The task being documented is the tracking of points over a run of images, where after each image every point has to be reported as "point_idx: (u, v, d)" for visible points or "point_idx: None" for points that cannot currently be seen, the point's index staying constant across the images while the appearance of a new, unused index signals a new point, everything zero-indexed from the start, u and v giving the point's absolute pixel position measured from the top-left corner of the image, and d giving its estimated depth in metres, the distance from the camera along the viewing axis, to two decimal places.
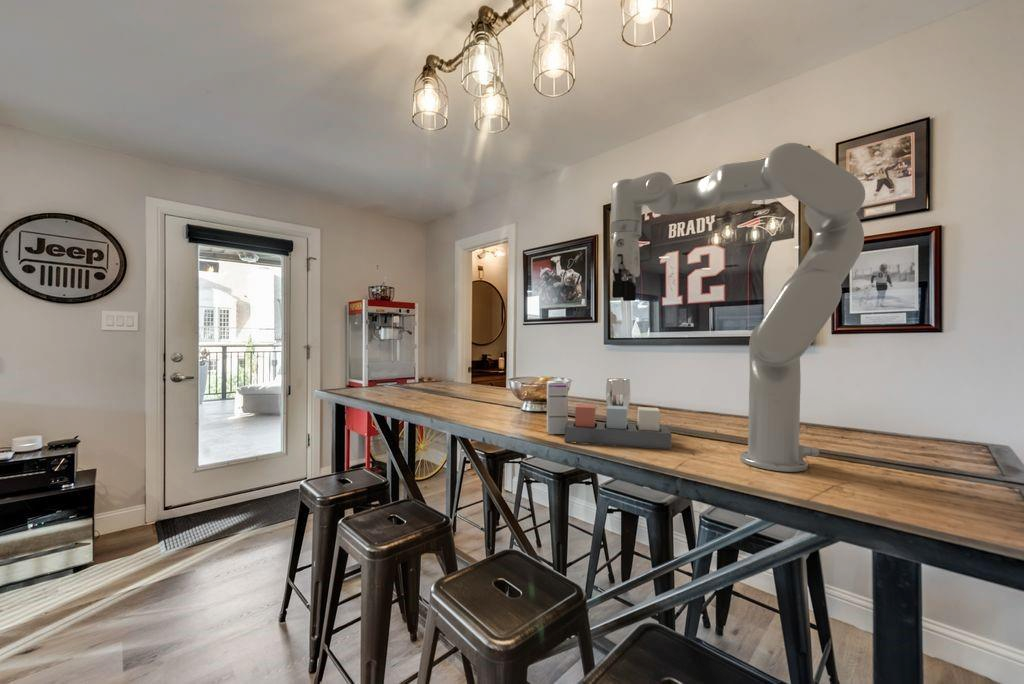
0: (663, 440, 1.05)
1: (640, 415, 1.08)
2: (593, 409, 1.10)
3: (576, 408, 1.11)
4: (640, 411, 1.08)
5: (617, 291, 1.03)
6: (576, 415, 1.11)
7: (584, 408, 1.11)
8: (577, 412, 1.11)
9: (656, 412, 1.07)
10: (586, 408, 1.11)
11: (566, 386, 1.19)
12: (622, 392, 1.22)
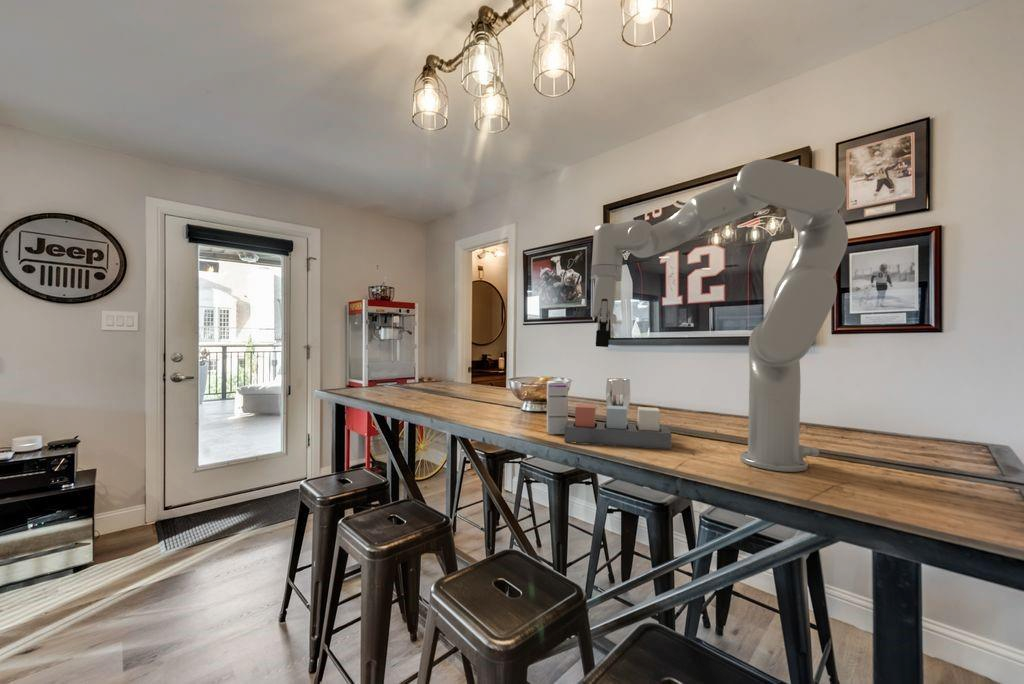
0: (663, 440, 1.05)
1: (640, 415, 1.08)
2: (593, 409, 1.10)
3: (576, 408, 1.11)
4: (640, 411, 1.08)
5: None
6: (576, 415, 1.11)
7: (584, 408, 1.11)
8: (577, 412, 1.11)
9: (656, 412, 1.07)
10: (586, 408, 1.11)
11: (566, 386, 1.19)
12: (622, 392, 1.22)
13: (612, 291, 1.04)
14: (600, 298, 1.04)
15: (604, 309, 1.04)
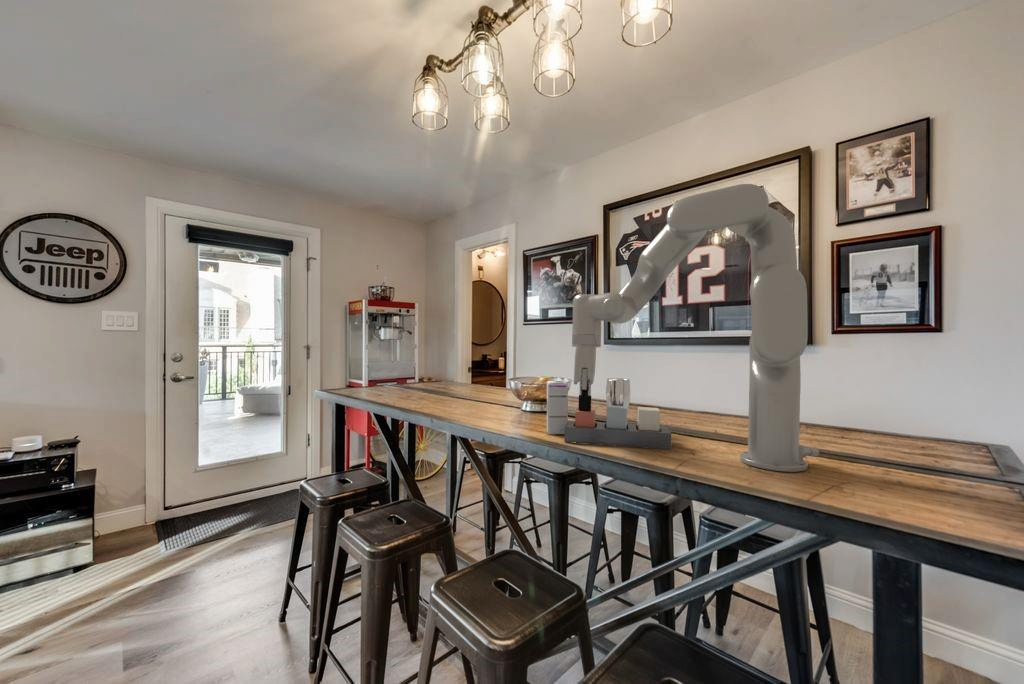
0: (663, 440, 1.05)
1: (640, 415, 1.08)
2: (593, 414, 1.10)
3: (576, 413, 1.11)
4: (640, 411, 1.08)
5: None
6: (576, 420, 1.11)
7: (584, 413, 1.11)
8: (577, 417, 1.11)
9: (656, 412, 1.07)
10: (586, 413, 1.11)
11: (566, 386, 1.19)
12: (622, 392, 1.22)
13: (591, 360, 1.08)
14: (580, 367, 1.09)
15: (584, 377, 1.09)
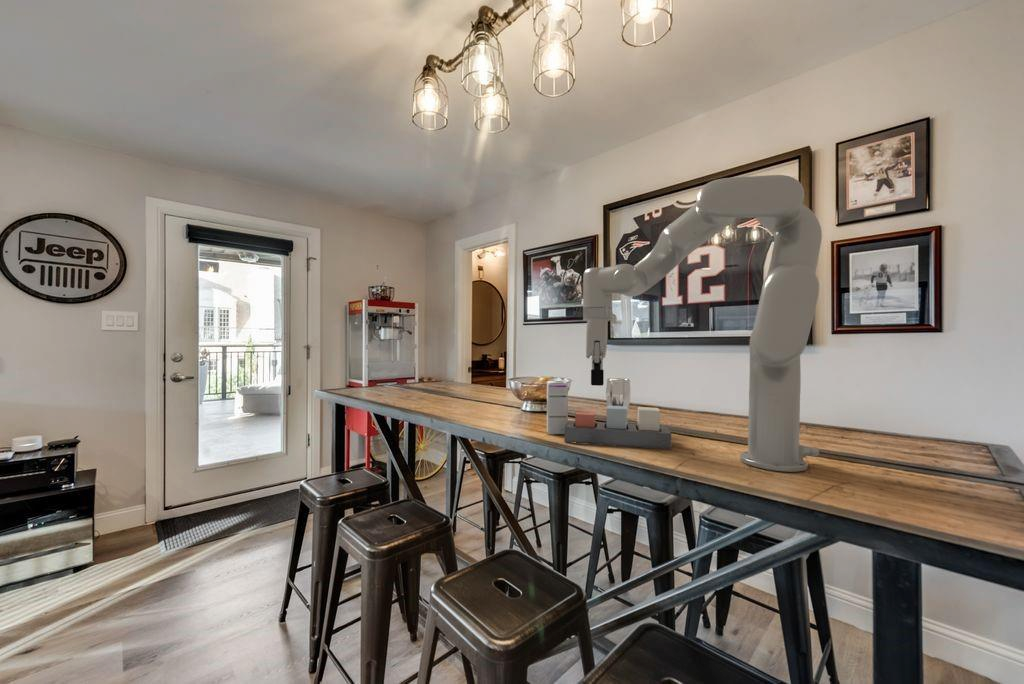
0: (663, 440, 1.05)
1: (640, 415, 1.08)
2: (593, 416, 1.10)
3: (576, 415, 1.11)
4: (640, 411, 1.08)
5: None
6: (576, 422, 1.11)
7: (584, 415, 1.11)
8: (577, 419, 1.11)
9: (656, 412, 1.07)
10: (586, 415, 1.11)
11: (566, 386, 1.19)
12: (622, 392, 1.22)
13: (604, 333, 1.08)
14: (592, 340, 1.08)
15: (596, 350, 1.08)
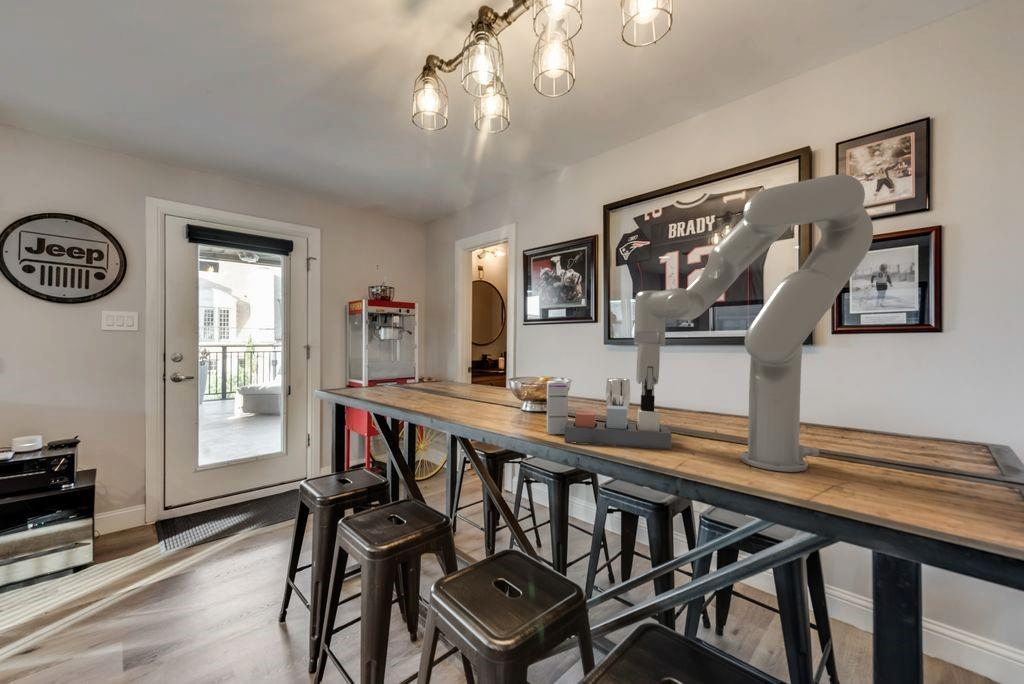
0: (663, 440, 1.05)
1: (640, 417, 1.08)
2: (593, 416, 1.10)
3: (576, 415, 1.11)
4: (640, 413, 1.08)
5: None
6: (576, 422, 1.11)
7: (584, 415, 1.11)
8: (577, 419, 1.11)
9: (656, 414, 1.07)
10: (586, 415, 1.11)
11: (566, 386, 1.19)
12: (622, 392, 1.22)
13: (657, 358, 1.05)
14: (646, 366, 1.05)
15: (649, 376, 1.05)
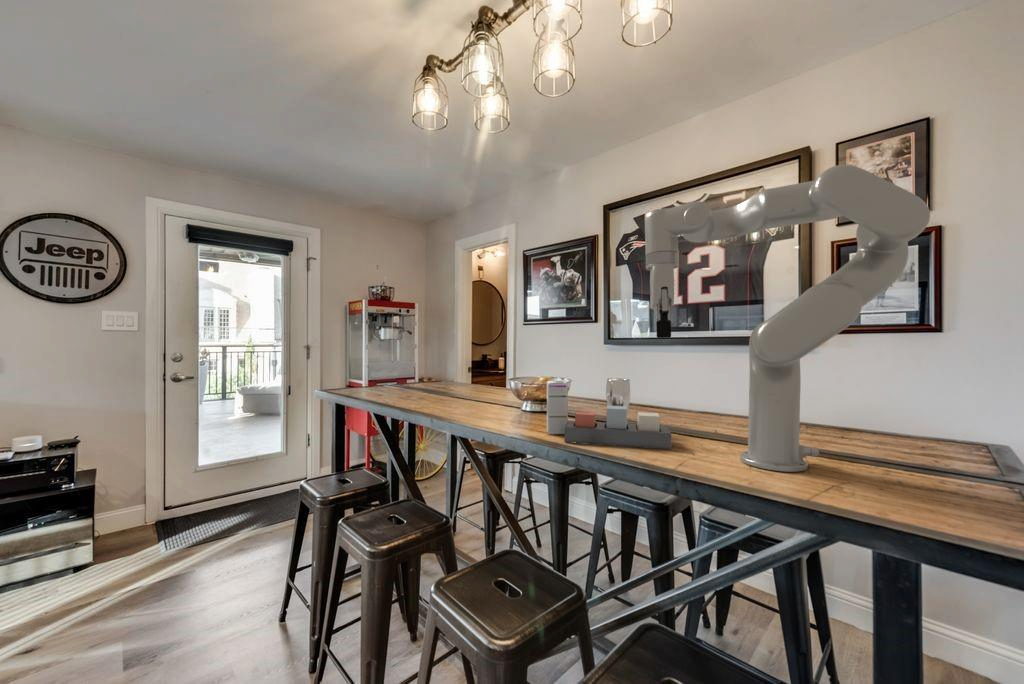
0: (663, 440, 1.05)
1: (640, 420, 1.08)
2: (593, 416, 1.10)
3: (576, 415, 1.11)
4: (640, 416, 1.08)
5: None
6: (576, 422, 1.11)
7: (584, 415, 1.11)
8: (577, 419, 1.11)
9: (656, 417, 1.07)
10: (586, 415, 1.11)
11: (566, 386, 1.19)
12: (622, 392, 1.22)
13: (671, 278, 0.99)
14: (659, 286, 0.99)
15: (664, 297, 0.99)
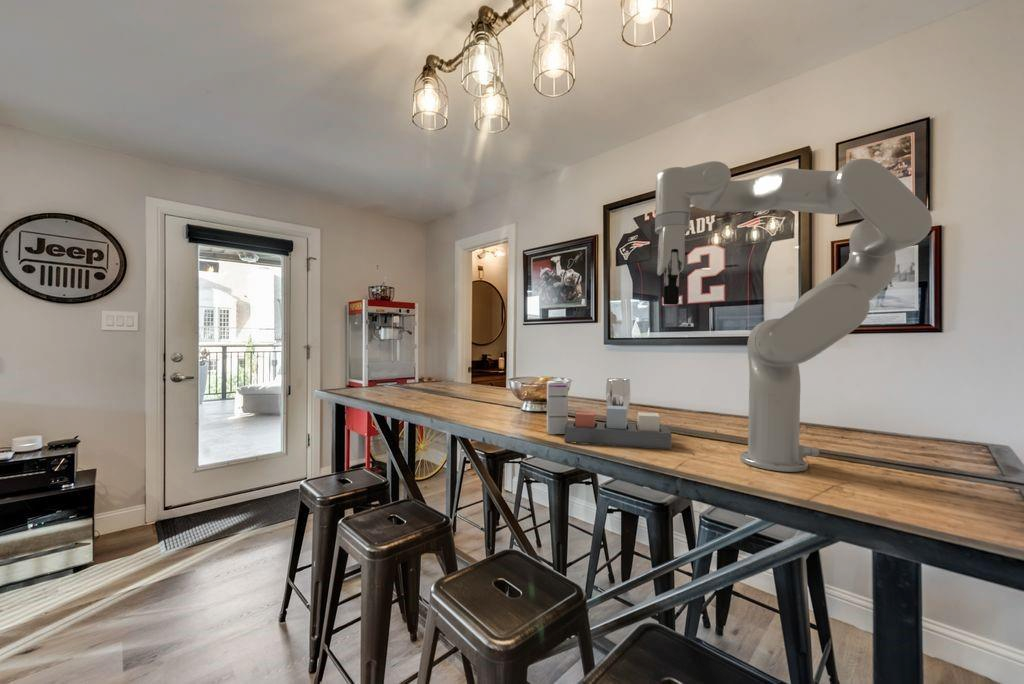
0: (663, 440, 1.05)
1: (640, 420, 1.08)
2: (593, 416, 1.10)
3: (576, 415, 1.11)
4: (640, 416, 1.08)
5: None
6: (576, 422, 1.11)
7: (584, 415, 1.11)
8: (577, 419, 1.11)
9: (656, 417, 1.07)
10: (586, 415, 1.11)
11: (566, 386, 1.19)
12: (622, 392, 1.22)
13: (683, 240, 0.94)
14: (670, 248, 0.94)
15: (674, 261, 0.94)
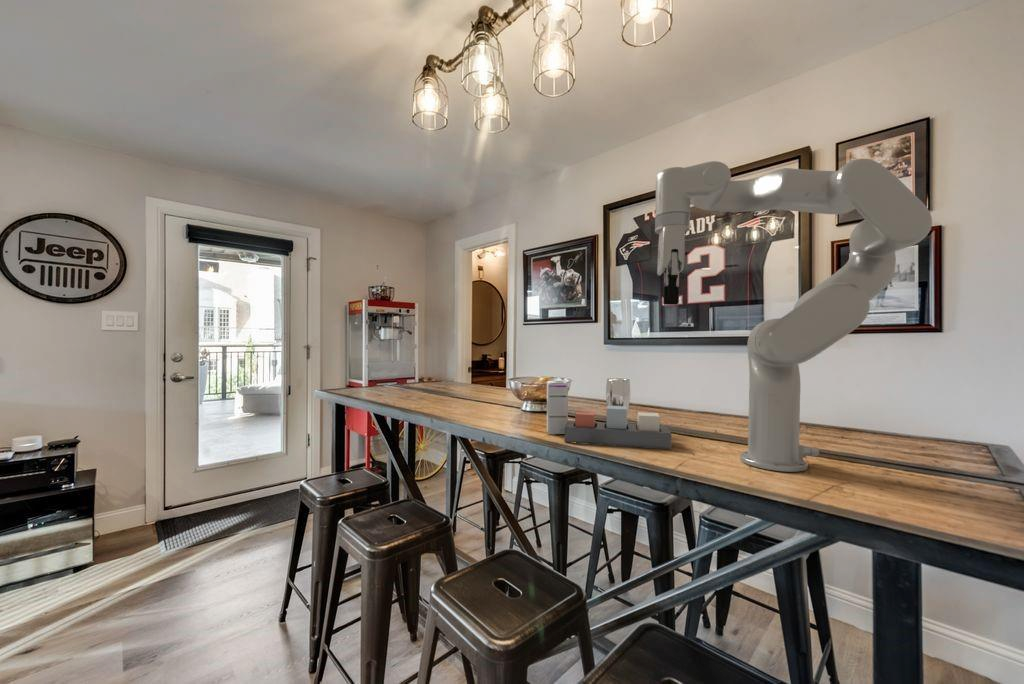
0: (663, 440, 1.05)
1: (640, 420, 1.08)
2: (593, 416, 1.10)
3: (576, 415, 1.11)
4: (640, 416, 1.08)
5: None
6: (576, 422, 1.11)
7: (584, 415, 1.11)
8: (577, 419, 1.11)
9: (656, 417, 1.07)
10: (586, 415, 1.11)
11: (566, 386, 1.19)
12: (622, 392, 1.22)
13: (683, 240, 0.94)
14: (670, 248, 0.94)
15: (674, 261, 0.94)
